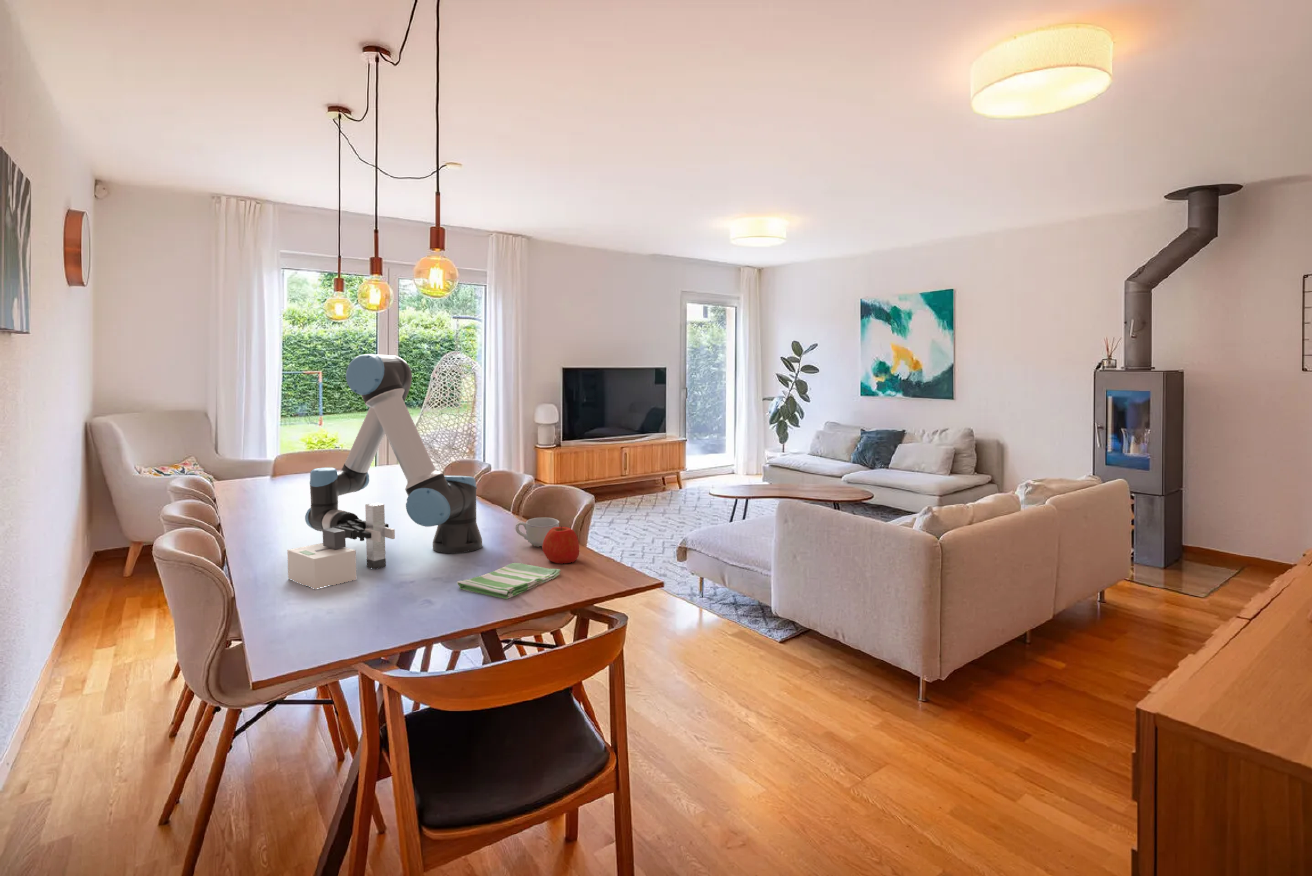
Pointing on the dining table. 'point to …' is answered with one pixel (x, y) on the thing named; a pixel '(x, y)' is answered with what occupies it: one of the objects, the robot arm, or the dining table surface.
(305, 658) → the dining table surface
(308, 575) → the bevelled white plinth
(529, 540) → the teacup
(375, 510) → the white tall square post
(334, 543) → the knob
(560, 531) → the apple
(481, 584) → the dish towel
